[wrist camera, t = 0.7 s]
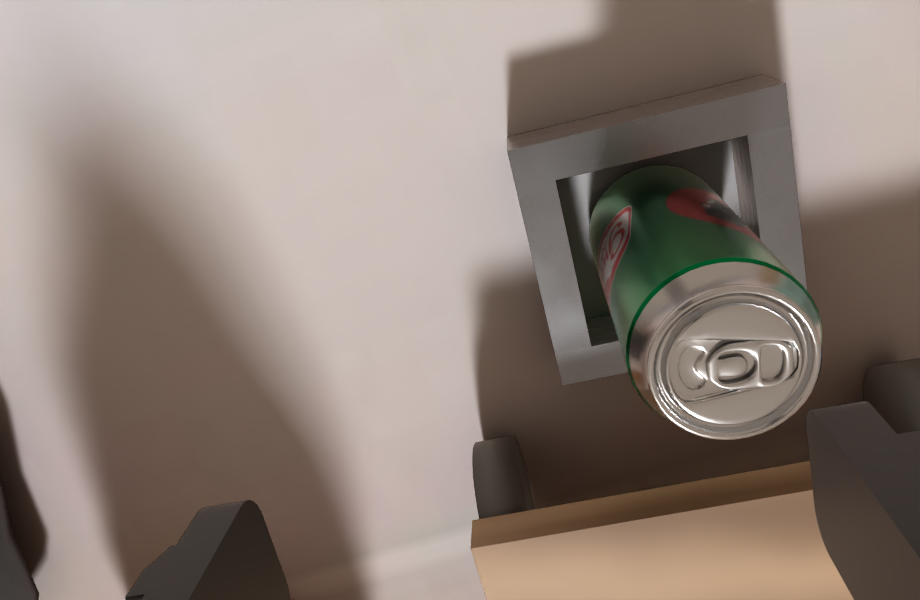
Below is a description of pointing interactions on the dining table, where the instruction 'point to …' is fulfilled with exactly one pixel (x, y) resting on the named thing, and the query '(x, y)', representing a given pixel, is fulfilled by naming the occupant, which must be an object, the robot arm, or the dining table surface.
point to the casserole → (13, 562)
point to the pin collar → (637, 138)
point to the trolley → (668, 528)
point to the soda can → (702, 307)
